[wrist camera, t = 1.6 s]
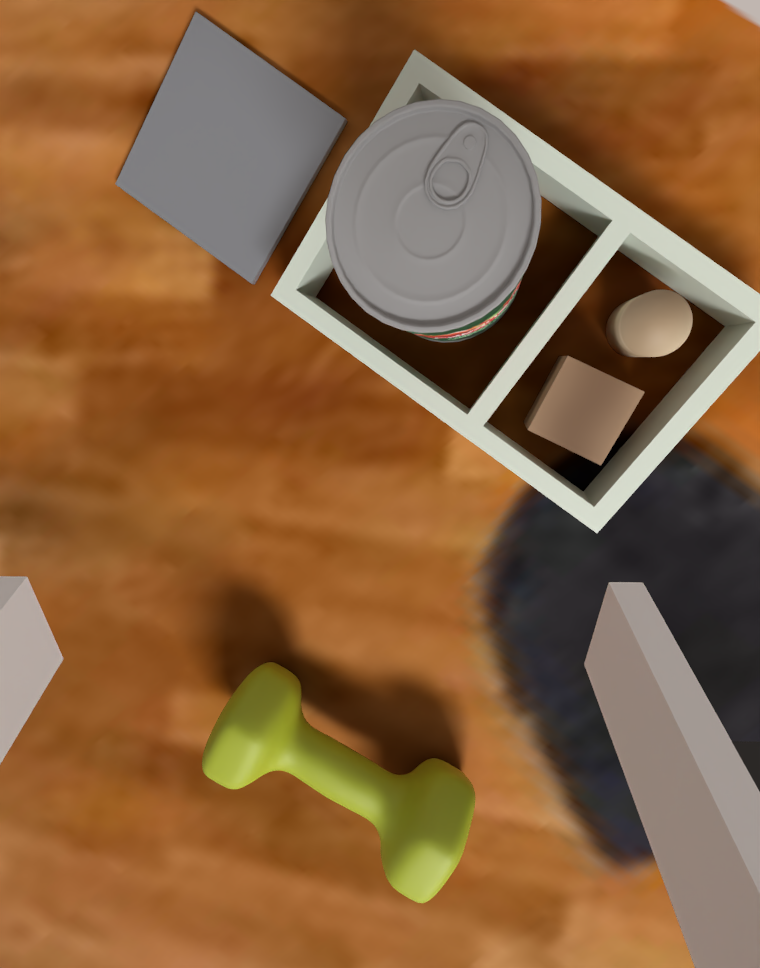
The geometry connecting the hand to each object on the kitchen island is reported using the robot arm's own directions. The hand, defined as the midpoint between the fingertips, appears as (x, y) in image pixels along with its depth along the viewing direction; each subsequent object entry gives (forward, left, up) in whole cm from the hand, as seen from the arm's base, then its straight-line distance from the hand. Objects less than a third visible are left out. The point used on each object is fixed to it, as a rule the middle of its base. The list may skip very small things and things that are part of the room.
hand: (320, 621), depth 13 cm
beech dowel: (+5, +13, -21) cm, 25 cm away
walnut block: (+5, +8, -21) cm, 23 cm away
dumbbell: (+7, -18, -22) cm, 29 cm away
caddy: (-1, +10, -21) cm, 23 cm away
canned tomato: (-5, +10, -21) cm, 24 cm away
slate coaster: (-19, +8, -21) cm, 30 cm away
